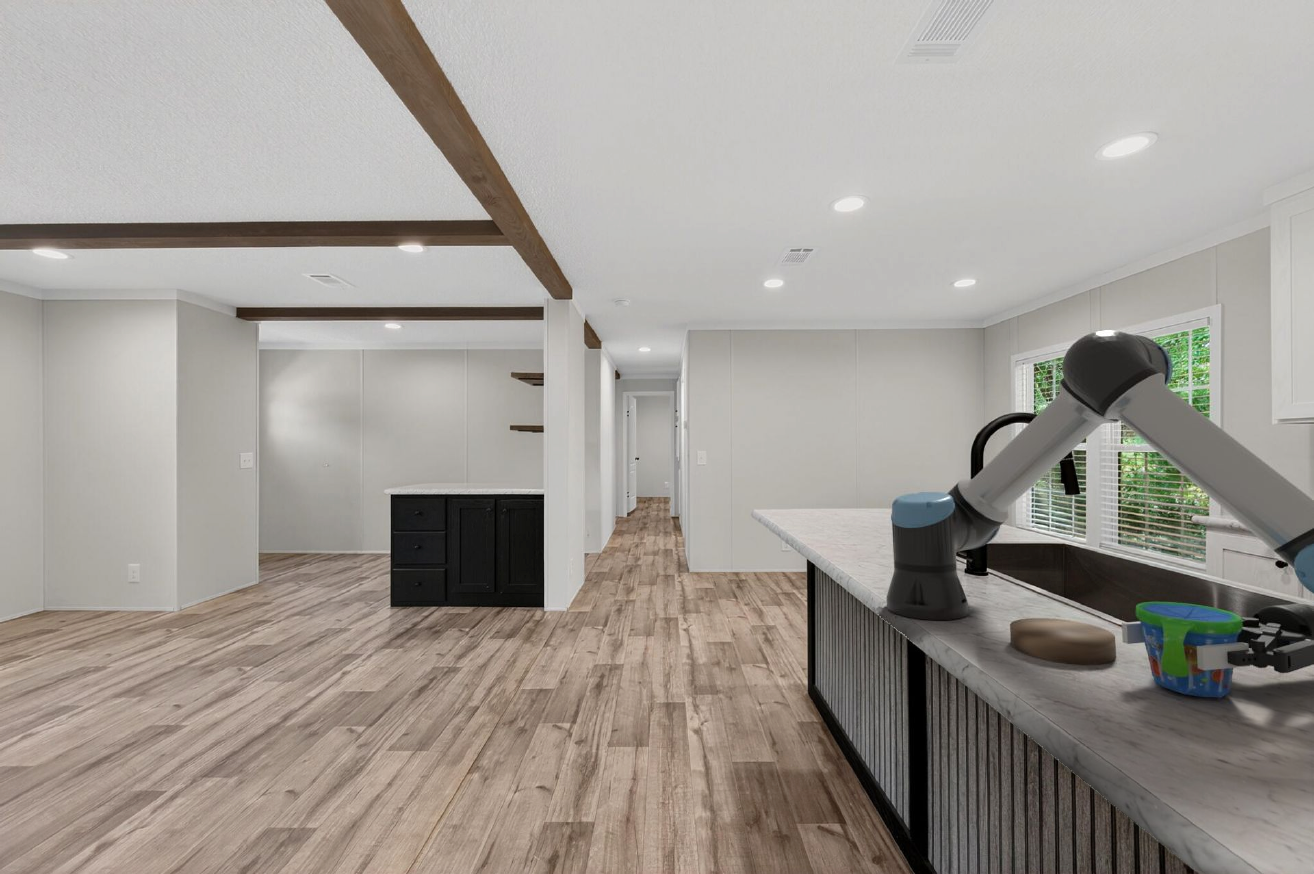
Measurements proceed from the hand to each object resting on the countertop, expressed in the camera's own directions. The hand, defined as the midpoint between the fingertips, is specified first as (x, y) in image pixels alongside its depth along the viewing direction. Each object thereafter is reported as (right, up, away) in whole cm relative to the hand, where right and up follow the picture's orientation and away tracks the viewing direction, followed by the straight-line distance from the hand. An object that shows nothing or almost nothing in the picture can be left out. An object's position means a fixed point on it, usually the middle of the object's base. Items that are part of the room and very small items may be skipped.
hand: (1160, 644), depth 78 cm
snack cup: (+4, -6, +1) cm, 8 cm away
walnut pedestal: (-1, -7, +18) cm, 19 cm away
